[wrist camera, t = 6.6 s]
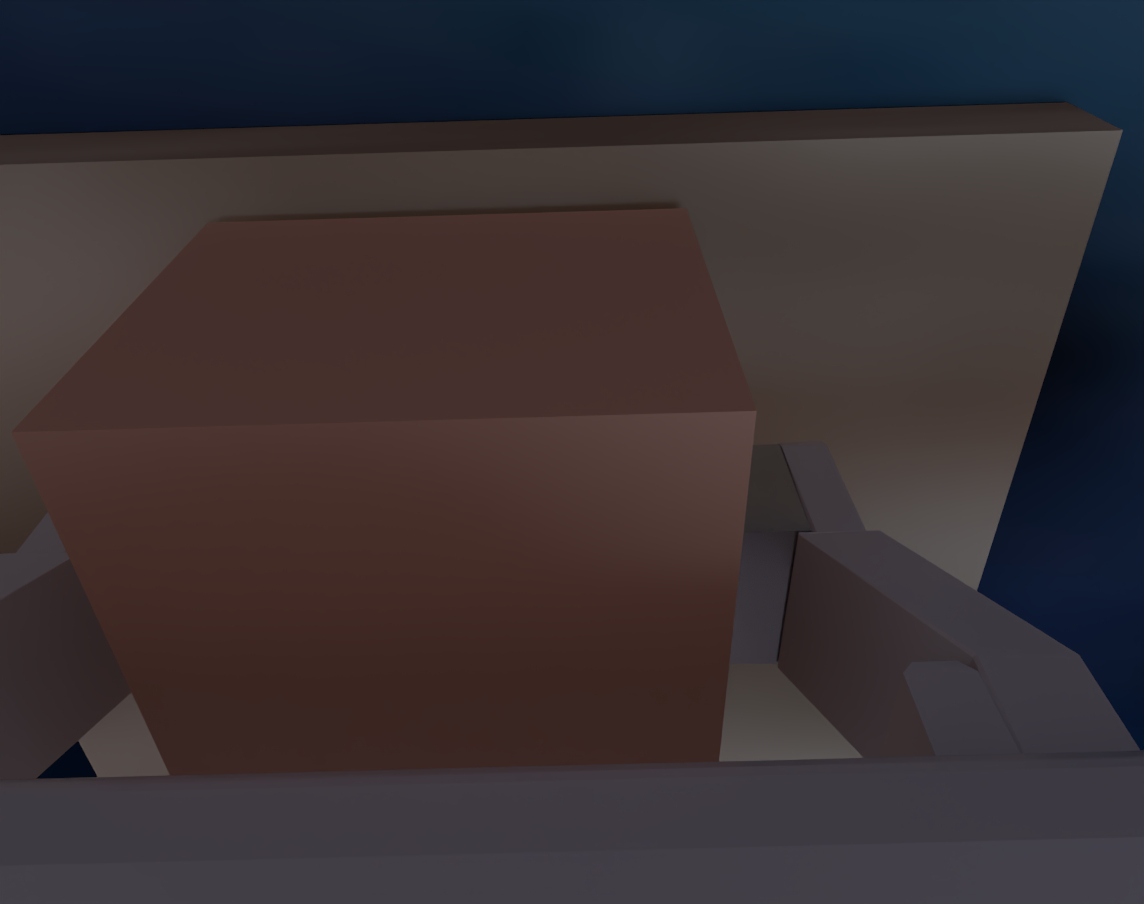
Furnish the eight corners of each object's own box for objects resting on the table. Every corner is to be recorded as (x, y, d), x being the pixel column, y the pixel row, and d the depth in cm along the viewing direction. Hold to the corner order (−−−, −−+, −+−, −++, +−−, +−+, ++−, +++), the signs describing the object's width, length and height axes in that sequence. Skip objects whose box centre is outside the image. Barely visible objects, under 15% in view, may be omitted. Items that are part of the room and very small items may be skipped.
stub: (666, 620, 13) (704, 895, 9) (316, 630, 13) (230, 907, 9) (686, 208, 9) (757, 411, 6) (207, 222, 9) (9, 432, 6)
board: (790, 1100, 26) (800, 1154, 25) (315, 1111, 26) (304, 1166, 25) (1067, 102, 10) (1127, 132, 9) (-153, 140, 10) (-236, 174, 9)
